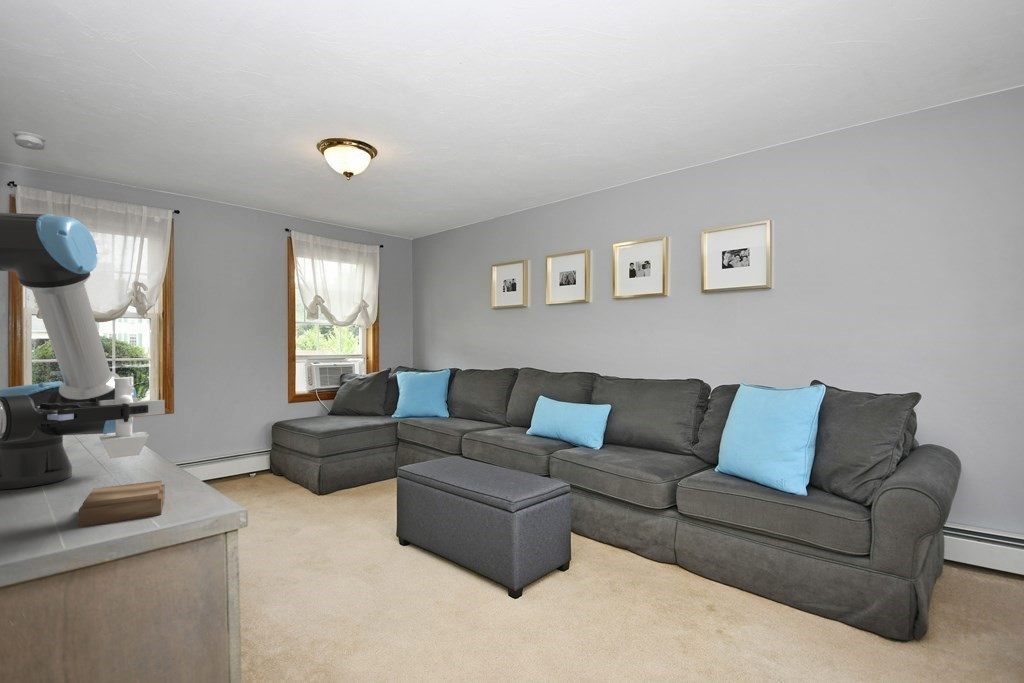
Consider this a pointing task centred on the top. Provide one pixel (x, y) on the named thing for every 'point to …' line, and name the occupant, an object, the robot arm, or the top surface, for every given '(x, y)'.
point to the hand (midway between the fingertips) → (150, 405)
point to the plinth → (122, 503)
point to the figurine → (124, 426)
